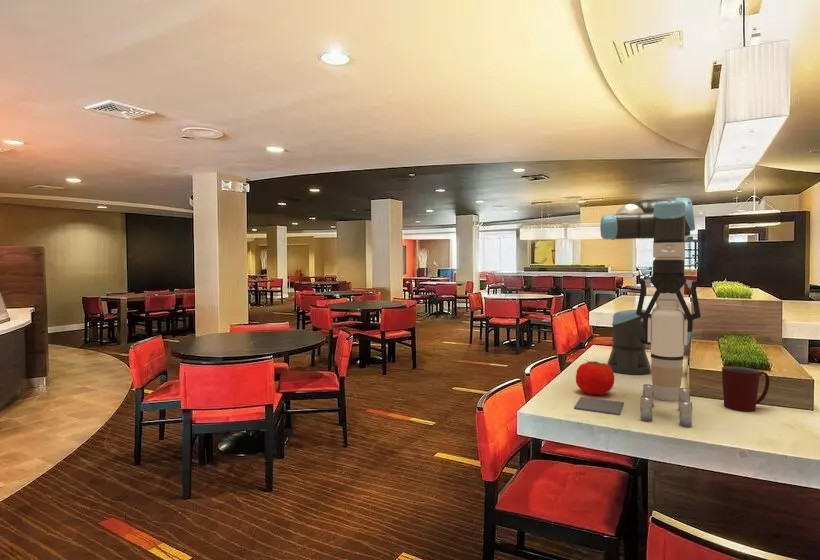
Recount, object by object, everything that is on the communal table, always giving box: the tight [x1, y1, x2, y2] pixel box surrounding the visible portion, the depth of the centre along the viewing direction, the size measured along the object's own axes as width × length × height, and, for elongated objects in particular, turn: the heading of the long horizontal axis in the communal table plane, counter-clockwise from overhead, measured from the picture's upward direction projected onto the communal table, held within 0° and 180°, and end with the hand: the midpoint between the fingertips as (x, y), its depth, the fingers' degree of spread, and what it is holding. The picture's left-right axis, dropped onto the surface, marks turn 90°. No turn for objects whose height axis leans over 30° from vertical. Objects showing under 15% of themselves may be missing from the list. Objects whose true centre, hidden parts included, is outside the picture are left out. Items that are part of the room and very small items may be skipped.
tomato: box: [575, 359, 615, 396], centre depth 152 cm, size 12×12×10 cm
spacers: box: [639, 383, 693, 428], centre depth 131 cm, size 17×12×6 cm
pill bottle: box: [650, 299, 685, 357], centre depth 130 cm, size 8×8×15 cm
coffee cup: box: [650, 352, 684, 402], centre depth 147 cm, size 9×9×15 cm
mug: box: [721, 365, 770, 412], centre depth 137 cm, size 12×9×11 cm
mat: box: [573, 396, 625, 416], centre depth 139 cm, size 12×12×1 cm
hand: (667, 342), depth 130 cm, fingers closed on pill bottle, 8 cm apart
